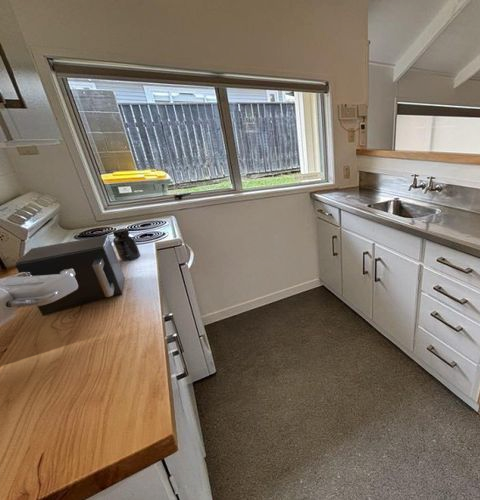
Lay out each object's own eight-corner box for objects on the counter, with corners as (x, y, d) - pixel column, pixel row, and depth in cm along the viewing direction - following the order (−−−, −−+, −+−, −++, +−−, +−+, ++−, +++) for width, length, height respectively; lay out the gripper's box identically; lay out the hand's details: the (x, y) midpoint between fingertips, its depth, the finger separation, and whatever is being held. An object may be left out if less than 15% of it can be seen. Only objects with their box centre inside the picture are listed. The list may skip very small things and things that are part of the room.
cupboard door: (121, 302, 83) (101, 254, 77) (36, 326, 74) (5, 273, 68) (122, 293, 88) (103, 247, 82) (43, 314, 79) (15, 263, 73)
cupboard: (122, 293, 88) (103, 246, 82) (43, 314, 79) (15, 263, 73) (124, 278, 98) (108, 235, 92) (55, 295, 89) (31, 248, 83)
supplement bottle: (123, 256, 117) (112, 229, 113) (142, 253, 120) (133, 226, 115) (118, 262, 111) (106, 234, 107) (138, 259, 114) (128, 231, 109)
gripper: (32, 288, 51) (91, 257, 64) (-89, 297, 50) (-4, 264, 63) (48, 317, 54) (102, 281, 66) (-67, 326, 52) (10, 288, 65)
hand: (49, 273), depth 65 cm, fingers open, 8 cm apart
